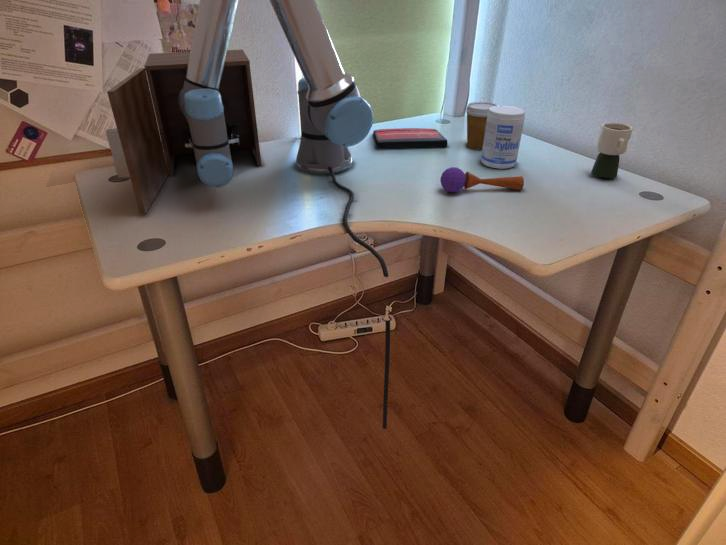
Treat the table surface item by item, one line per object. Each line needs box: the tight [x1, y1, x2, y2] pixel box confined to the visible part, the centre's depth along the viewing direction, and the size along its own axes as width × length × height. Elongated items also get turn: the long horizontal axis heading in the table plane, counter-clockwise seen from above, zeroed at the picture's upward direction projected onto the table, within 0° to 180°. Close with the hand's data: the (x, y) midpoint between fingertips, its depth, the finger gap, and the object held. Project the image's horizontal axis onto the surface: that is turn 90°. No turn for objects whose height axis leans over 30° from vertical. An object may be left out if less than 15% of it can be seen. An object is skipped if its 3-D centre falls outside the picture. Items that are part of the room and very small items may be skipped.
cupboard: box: [104, 49, 262, 215], centre depth 121 cm, size 41×32×27 cm
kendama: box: [439, 166, 525, 193], centre depth 119 cm, size 6×6×20 cm
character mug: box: [590, 122, 633, 179], centre depth 125 cm, size 11×7×13 cm, turn 179°
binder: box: [372, 127, 448, 150], centre depth 153 cm, size 16×2×21 cm
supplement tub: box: [480, 105, 526, 170], centre depth 132 cm, size 10×10×15 cm
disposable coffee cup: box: [465, 101, 498, 150], centre depth 146 cm, size 10×10×12 cm
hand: (209, 124), depth 136 cm, fingers closed on beverage can, 6 cm apart
